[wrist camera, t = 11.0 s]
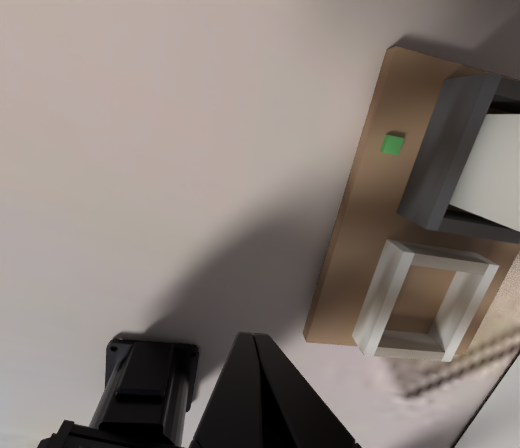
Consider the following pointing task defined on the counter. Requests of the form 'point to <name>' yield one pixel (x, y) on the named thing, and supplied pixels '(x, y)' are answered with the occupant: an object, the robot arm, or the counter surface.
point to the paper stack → (497, 416)
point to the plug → (493, 172)
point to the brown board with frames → (415, 218)
